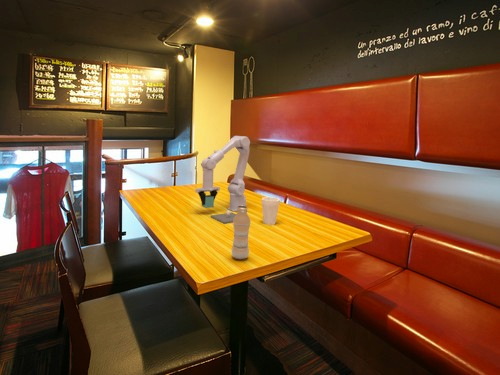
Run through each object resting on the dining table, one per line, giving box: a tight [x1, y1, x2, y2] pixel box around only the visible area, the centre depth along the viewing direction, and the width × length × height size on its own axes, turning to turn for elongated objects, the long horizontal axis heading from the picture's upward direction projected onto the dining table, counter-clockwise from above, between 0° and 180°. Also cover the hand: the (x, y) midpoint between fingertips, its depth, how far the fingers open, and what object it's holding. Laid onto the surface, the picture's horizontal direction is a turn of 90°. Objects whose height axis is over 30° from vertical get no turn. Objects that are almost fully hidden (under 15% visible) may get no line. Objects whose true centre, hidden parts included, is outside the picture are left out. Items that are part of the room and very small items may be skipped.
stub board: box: [209, 209, 237, 225], centre depth 173 cm, size 14×14×4 cm
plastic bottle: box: [231, 205, 252, 260], centre depth 119 cm, size 6×7×20 cm
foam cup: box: [261, 196, 281, 226], centre depth 167 cm, size 10×9×13 cm
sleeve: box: [201, 194, 215, 209], centre depth 180 cm, size 5×5×6 cm
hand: (207, 204), depth 180 cm, fingers closed on sleeve, 5 cm apart
